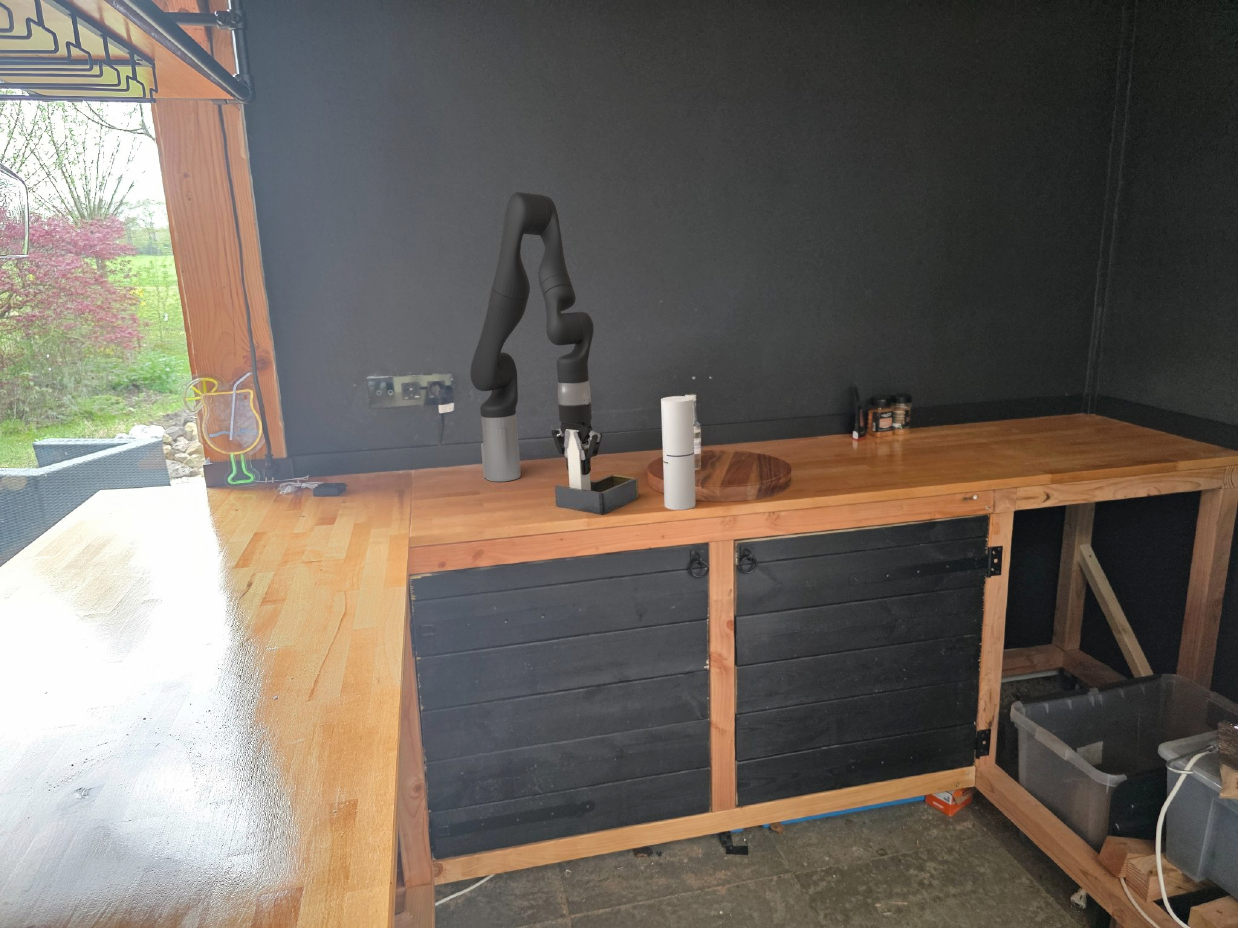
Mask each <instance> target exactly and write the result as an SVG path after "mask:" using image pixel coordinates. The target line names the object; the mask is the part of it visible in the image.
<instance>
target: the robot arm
mask: <svg viewBox="0 0 1238 928" xmlns="http://www.w3.org/2000/svg"><path fill="white" fill-rule="evenodd" d="M560 227H561V225H560V221H559V215H558V211H557V207H556V205H555V203H554V201H553V199H552V198H551V197H549V196H547V195H543V194H537V193H529V192H518V191H517V192H514V193H512V194H511V195H510V197H509V200H508V202H507V204H506V208H505V214H504V220H503V228H502V233H501V234H502V235H501V242H500V250H499V254H498V259H497V263H496V264H497V266H496V269H495V274H494V278H493V282H492V285H491V290H490V294H489V299H488V305H487V310H486V313H485V318H484V322H483V325H482V328H481V334H480V337H479V341H478V343H477V346H476V348H475V351H474V354H473V357H472V361H471V365H470V371H469V372H470V381H471V383H472V385H473V387H474V388H475V389H476V390H478V391H480V392H491V393H490V396H489V397H488V399H486V400H485V401H484V402H483V403H482V404H481V405H480V420H481V421H480V422H481V431H482V442H481V443H480V449H481V450H480V451H481V460H482V461H481V462H482V473H483V479H486V480H488V481H489V482H490V481H491V482H499V483H500V482H508V481H514V480H517V479H519V478H521V477H522V473H521V458H520V448H519V446H520V445H519V435H518V422H517V404H518V402H519V401H518V400H519V397H518V396H519V395H518V391H519V390H518V372H517V371H518V369H517V365H516V362H515V360H514V358H513V357H512V356H511V355H510V354H509V353H506V352H502V349H503V347H504V345H505V342H506V341H507V340H508V337H510V336H511V334H512V333H513V332H514V331H515V329H516V328H517V326H518V325H519V323H520V322H521V320H522V319H523V318H524V317H523V316H524V314H525V312H526V309H527V304H528V300H529V296H530V290H531V286H530V281H529V277H528V275H527V272H526V268H525V266H524V264H523V261H522V254H521V249H522V248H521V246H522V240H523V236H524V235H531V236H532V235H533V236H540V238H541V240H542V242H543V244H544V246H543V247H544V251H543V256H542V257H541V262H540V263H539V264H540V265H539V267H538V272H537V273H538V274H537V276H538V277H537V278H538V282H539V283H538V284H539V287H540V289H541V293H542V296H543V300H544V304H545V313H546V322H545V323H546V327H545V328H546V336H547V338H548V340H549V341H550V342H551V343H552V344H553V345H555V346H568V345H569V346H570V345H574V347H573V349H572V350H571V352H568V353H567V354H564V355H561V356H560V357H558V358H557V359H556V372H557V405H558V416H559V417H558V420H559V422H560V423H561V424H560V427H559V428H555V429H552V430H551V435H552V438H553V442H554V444H555V446H556V449H557V452H558V454H559V455H563V456H564V457H565V462H566V463H565V464H566V470H567V472H568V474H569V469H568V454H567V448H568V446H569V437H570V432H569V430H566V429H571V430H579V432H577V431H574V433H573V434H574V438H575V440H576V444H577V448H578V450H580V455H581V459H582V460H581V469H582V475H587V474H589V473H590V474H591V470H592V469H591V468H592V466H591V465H592V464H591V458H594V457H597V456H598V454H599V450H600V446H601V443H602V439H603V433H602V432H596V431H594V430H593V427H592V424H591V423H592V419H593V415H592V414H593V412H592V400H591V399H592V397H591V395H592V394H591V386H590V379H589V366H588V365H589V357H590V350H591V346H592V342H593V337H594V329H595V326H594V322H593V319H592V317H591V316H590V315H589V313H587V312H584V311H577V312H576V311H575V312H563V311H565V310H569V309H570V308H571V307H572V306H574V304H575V302H576V293H575V290H574V287H573V284H572V281H571V278H570V275H569V272H568V267H567V265H566V262H565V261H566V259H565V253H564V248H563V240H562V234H561V232H562V231H561V228H560ZM562 312H563V313H562ZM585 443H586V445H584V446H583V445H582V444H585ZM585 452H586V453H585Z"/></svg>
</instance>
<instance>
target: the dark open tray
mask: <svg viewBox="0 0 1238 928" xmlns="http://www.w3.org/2000/svg"><path fill="white" fill-rule="evenodd" d="M638 480H639V479H638V477H631V476H625V475H620V474H619V475H618V474H610V475H607V476H605V477H603V478H600V479H598V480H590V485H591V491H589V490H583V489H577V488H571V487H570V486H564V485H558V484H557V485H554V496H555V506H556V507H557V506H560V507H559V508H563V509H568V510H573V509H574V511H578V512H579V511H580V512H585V513H590V514H596V515H600V516H601V515H602V516H604V515H607V514H608V513H610V512H612V511H614V510H616V509H619V508H621V507H623V506H625V505H627V504H630V503H631V502H634V501H636V500H639V497H640V496H639V481H638Z"/></svg>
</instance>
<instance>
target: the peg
mask: <svg viewBox="0 0 1238 928" xmlns="http://www.w3.org/2000/svg"><path fill="white" fill-rule="evenodd" d="M566 430H569V432H570V437H569V446H568V448H567V454H568V469H569V473H568V480H569V481H568V482H569V487H571V488H577V489H583V490H589V491H591V485H590V481H591V472H590V473H589V474H587V475H582V469H581V460H582V459H581V455H580V450H578V448H577V444H576V440H575V438H574V434H573V433H574V431H577V432H579V430H571V429H566ZM582 445H583V446H584V445H586V443H585V444H582ZM585 453H586V452H585Z"/></svg>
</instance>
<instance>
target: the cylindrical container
mask: <svg viewBox="0 0 1238 928" xmlns="http://www.w3.org/2000/svg"><path fill="white" fill-rule="evenodd" d="M660 406H661V412H660V413H661V436H662V437H661V438H662V441H661V442H662V443H661V444H662V460H663V461H662V462H663V463H662V465H663V466H662V467H663V495H664V497H663V499H664V501H663V502H664V508H665V509H668V510H672V511H673V510H674V511H684V510H685V511H686V510H690V509H693V508H695V507H696V477H695V476H696V475H695V473H696V472H695V468H696V466H695V435H694V434H695V432H694V398H693V397H691V396H686V395H683V396H682V395H673V396H667V397H662V398H661V399H660Z"/></svg>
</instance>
